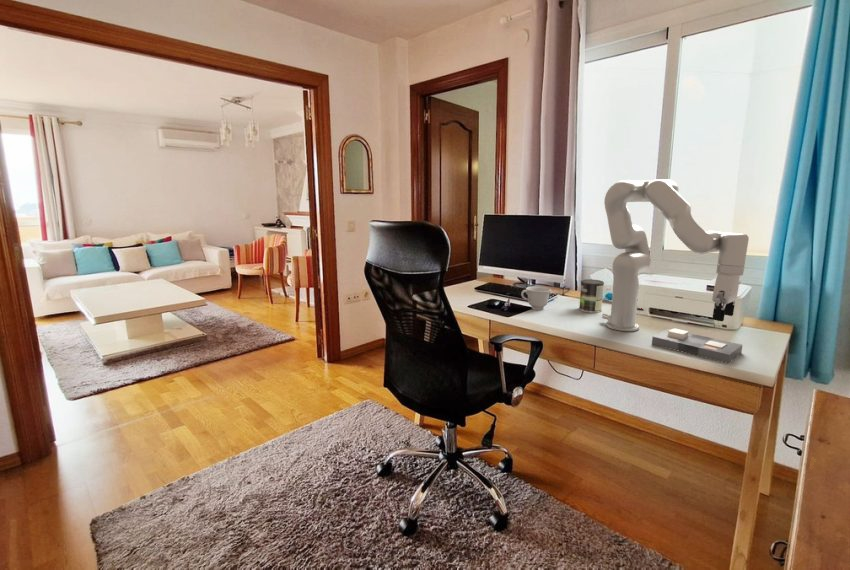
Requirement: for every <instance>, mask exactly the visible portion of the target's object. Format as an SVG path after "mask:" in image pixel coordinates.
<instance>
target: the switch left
mask: <svg viewBox="0 0 850 570" xmlns="http://www.w3.org/2000/svg"><path fill="white" fill-rule="evenodd" d="M688 333H689V330H685V329H684V330H683V329H679V328H675V327H674V328H672V330H670V331H668V337H672V338H677V339H681V340H684V339H686V338H688Z"/></svg>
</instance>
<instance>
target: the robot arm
mask: <svg viewBox="0 0 850 570" xmlns="http://www.w3.org/2000/svg"><path fill="white" fill-rule="evenodd" d="M636 202H637V203H638V202H641V203H644V202H645V203H650V204H652V206H653V207H654V208H656V209H657V210H658V212H659V213H660V214H662V215H663V217H664V218H665V219H666V220H667V221H668V222H669V225H670V227H671V229H672V231H673V233H674V234H675V235H676V237H677V238H678V239H679V240H680V241H681V242H682V244H684V246H686V247H687V249H688V250H690V251H691V252H693V253H695V254H698V255H706V254H710V253H715V252H716V253H718V258H717V263H716V270H715V273H716V274H717V277H716V280H715V282H714V283H715V284H714V287H713V292H712V297H711V301H712V302H714V305H713V312H712V320H713V321H718V322H724V320H725V316H727V317H728V316H729V317H733V316H734V312H735V305H736V300H737V298H738V293H739V287H740V277H741V276H744V270H745V264H746V260H747V259H746V258H747V252H748V246H749V241H750V240H749V235H748V234H746V233H742V232H741V233H739V232H722V231H715V230H708V231H707V230H706V231H705V230H704V229H703V228H702V227H701V226H700V225H699V224H698V223H697V222H696V221H695V219H694V218H693V216H692V214H691V213H692V206H691V204H690V203H689V202H688V201H687V200H686V199H685V198H683V196H682V195H681V194H679V186H678V185H677V183H676V182H675V181H673V180H671V179H663V178H662V179H653V180H634V179H633V180H630V179H628V180H626V179H625V180H619V181H617V182H615V183H614V184H613V185H611V186H610V187H609V188H608V190H607V192H606V193H605V196H604V209H605V214H606V218H607V223H608V224H607V225H608V229H609V234H610V240H611V243H612V246H613V247H615V248H616V249H618V250H625V252H621V253H620V254H618V255H616V257H614V259H613V261H612V274H613V275H612V277H613V280H612V281H613V283H612V296H611V297H612V298H611V309H610V311H611V312H610V314H608V313H605V312H603V313H602V315H601V319H602V320H606V321H607V322H606V323H605V326H606V327H607V328H609V329H612V330H614V331H618V332H619V331H621V332H636V331H638V330H640V325H639V324H638V323H636V322H637V321H636V319H637V309H638V306H637V301H638V298H639V288H640V286H639V285H640V284H639V283H640V282H639V276H638V274H640V273H643V272H646V271H647V270H648V269H649V268H650V266H651V262H652V261H651V253H650V250H649V249H650V247H649V242H648V239H647V235H646V231H645V230H644V229H643V228H642V227H641V226H639V225H637V224H633V222H632V217H631V212H630V210H629V208H628V206H627V203H636Z"/></svg>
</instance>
